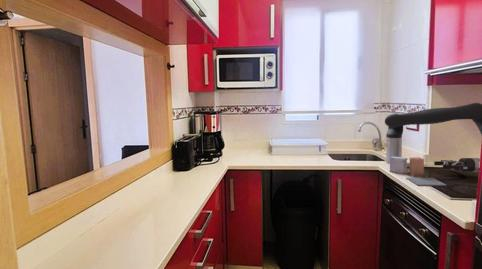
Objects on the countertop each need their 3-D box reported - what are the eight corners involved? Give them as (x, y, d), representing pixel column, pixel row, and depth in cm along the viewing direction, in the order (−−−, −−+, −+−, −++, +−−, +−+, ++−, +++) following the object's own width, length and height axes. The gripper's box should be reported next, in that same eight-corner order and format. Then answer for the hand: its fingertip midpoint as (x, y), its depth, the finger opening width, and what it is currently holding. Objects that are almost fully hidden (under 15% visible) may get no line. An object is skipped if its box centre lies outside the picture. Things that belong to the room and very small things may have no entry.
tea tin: (409, 174, 156) (409, 157, 155) (418, 174, 155) (419, 157, 154) (413, 177, 151) (413, 159, 150) (423, 177, 150) (423, 159, 149)
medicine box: (406, 172, 161) (407, 157, 160) (404, 173, 159) (404, 159, 158) (392, 170, 167) (392, 156, 166) (389, 171, 164) (389, 157, 164)
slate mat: (406, 178, 149) (406, 177, 149) (432, 178, 147) (432, 177, 147) (417, 185, 136) (417, 184, 136) (446, 185, 134) (446, 184, 134)
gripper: (463, 155, 155) (431, 155, 157) (481, 160, 141) (446, 161, 143) (462, 168, 156) (431, 168, 158) (480, 175, 142) (445, 175, 144)
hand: (438, 165), depth 151 cm, fingers open, 8 cm apart
